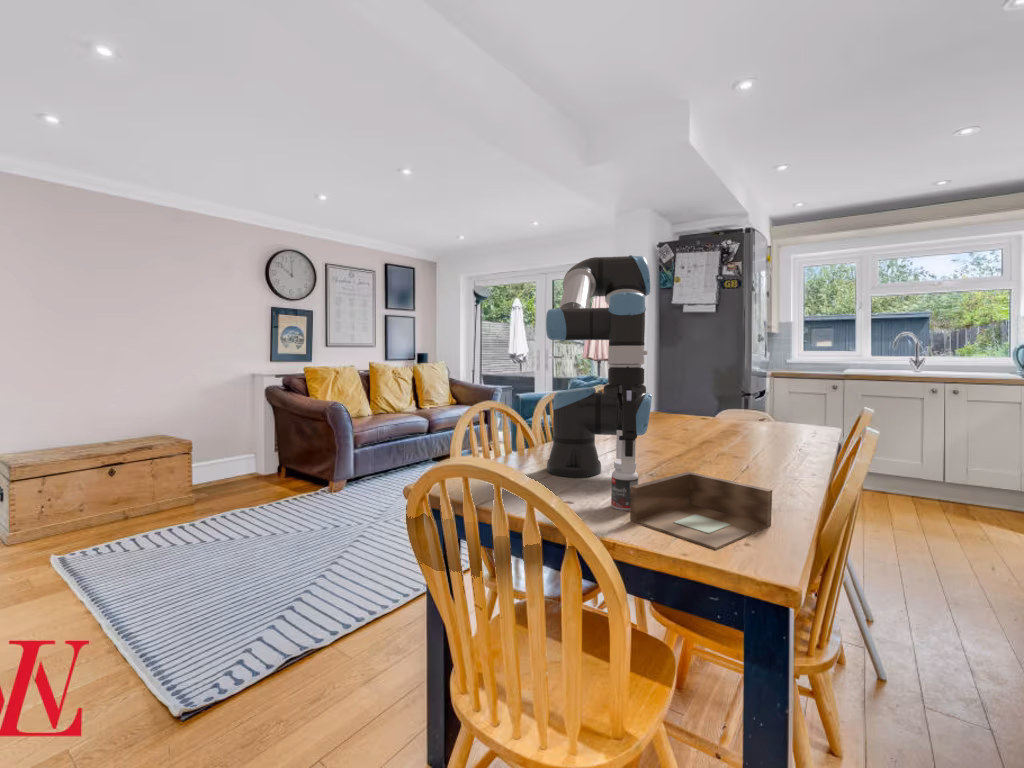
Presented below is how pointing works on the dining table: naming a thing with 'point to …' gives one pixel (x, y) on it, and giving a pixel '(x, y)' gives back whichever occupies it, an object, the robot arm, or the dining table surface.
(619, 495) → the pill bottle
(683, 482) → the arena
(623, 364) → the robot arm
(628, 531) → the dining table surface
